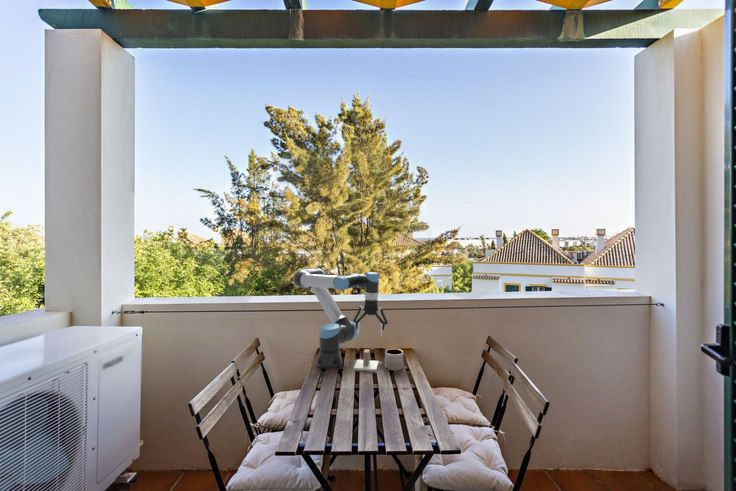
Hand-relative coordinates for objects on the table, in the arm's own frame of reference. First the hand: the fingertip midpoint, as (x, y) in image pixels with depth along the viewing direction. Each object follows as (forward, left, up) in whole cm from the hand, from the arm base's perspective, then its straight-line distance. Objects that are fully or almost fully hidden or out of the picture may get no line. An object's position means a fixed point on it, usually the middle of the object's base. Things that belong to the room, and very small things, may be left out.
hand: (369, 334), depth 218 cm
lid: (-1, -1, -18) cm, 18 cm away
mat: (-1, -1, -19) cm, 19 cm away
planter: (+15, +1, -19) cm, 24 cm away
